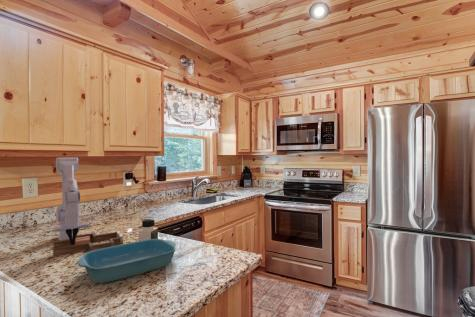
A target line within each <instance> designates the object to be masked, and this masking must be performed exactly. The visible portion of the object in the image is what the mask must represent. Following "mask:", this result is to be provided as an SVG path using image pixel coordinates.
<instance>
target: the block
mask: <svg viewBox="0 0 475 317" xmlns="http://www.w3.org/2000/svg"><path fill="white" fill-rule="evenodd" d="M88 242H90V236H86V237H78V238H76V240H75V245H76V244H82V243H88Z"/></svg>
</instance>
